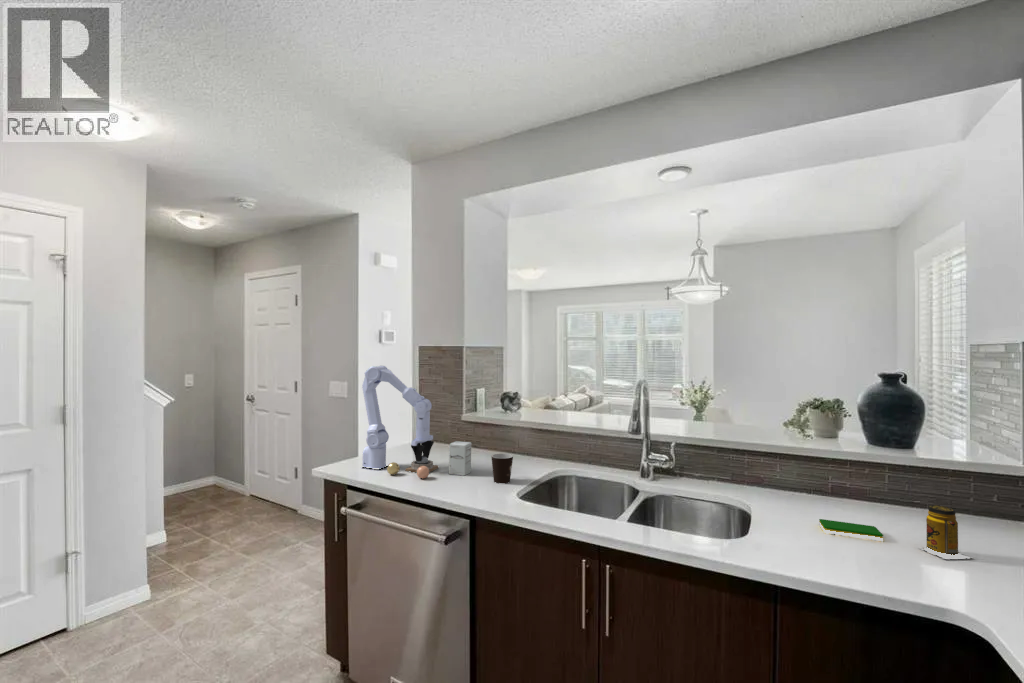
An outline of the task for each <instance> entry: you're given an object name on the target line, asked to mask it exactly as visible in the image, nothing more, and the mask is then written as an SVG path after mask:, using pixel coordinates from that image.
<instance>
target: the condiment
mask: <svg viewBox="0 0 1024 683" xmlns="http://www.w3.org/2000/svg"><path fill="white" fill-rule="evenodd" d="M927 507H928V508H927V509H928V511H927V514H928V515H927V516H926V518H925V520H926V548H927V547H928V548H930V549H932V550H934V551H937V552H941V553H946V554H951V555H952V554H953V555H955V554H958V553H959V523H958V521H957V517H956V511H955V510H954V509H953V508H951V507H947V506H943V505H942V506H941V505H934V504H933V505H928V506H927Z"/></svg>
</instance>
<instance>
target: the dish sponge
mask: <svg viewBox="0 0 1024 683" xmlns="http://www.w3.org/2000/svg"><path fill="white" fill-rule="evenodd" d="M819 522H820V523H821V525H822V526H823V528H824V529H825V530H830V531H836V532H844V533H852V534H860V535H868V536H875V537H880V538H883V539H884V534H883V533H882V532H881V531H880V529H878V527H876V526H874V525H867V524H860V523H859V524H858V523H854V522H853V523H852V522H847V521H846V522H845V521H838V520H832V519H823V518H822V519H821V518H819ZM819 522H818V523H819Z"/></svg>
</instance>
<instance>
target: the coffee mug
mask: <svg viewBox="0 0 1024 683" xmlns="http://www.w3.org/2000/svg"><path fill="white" fill-rule="evenodd" d="M490 458H491V469H492V475H493V476H492V477H493V478H492V479H493V482H494V483H495V482H496V484H499V483H505V484H509V483H510V482H511V475H512V468H513V460H514V455H513V454H511V453H494V454H492V455H491V456H490ZM508 482H509V483H508Z"/></svg>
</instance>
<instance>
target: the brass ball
mask: <svg viewBox="0 0 1024 683" xmlns="http://www.w3.org/2000/svg"><path fill="white" fill-rule="evenodd" d="M400 467H401V466H400V465H399V464H398V462H394V461H393V462H390V463H389V464H388V467H386V471H387V473H388V474H389V475H391V474H392V475H391V476H395V475H397V474H398V473H399V472H400V469H401V468H400ZM394 474H395V475H394Z"/></svg>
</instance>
